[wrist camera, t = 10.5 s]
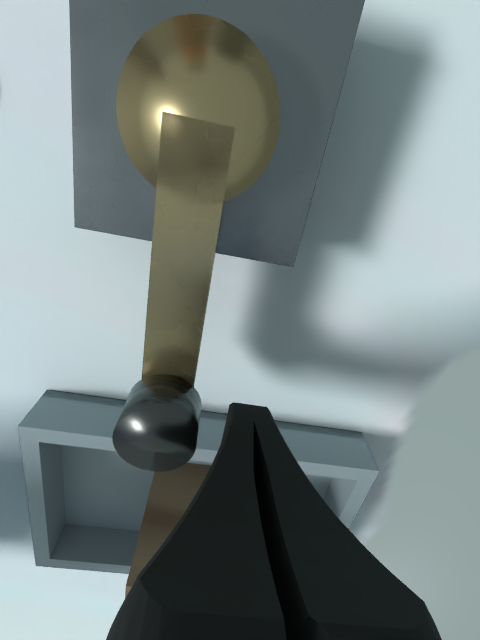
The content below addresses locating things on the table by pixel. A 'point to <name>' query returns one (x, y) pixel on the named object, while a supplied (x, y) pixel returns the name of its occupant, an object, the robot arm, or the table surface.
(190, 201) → the crank
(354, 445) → the tray
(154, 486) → the block
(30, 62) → the table surface
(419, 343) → the table surface
